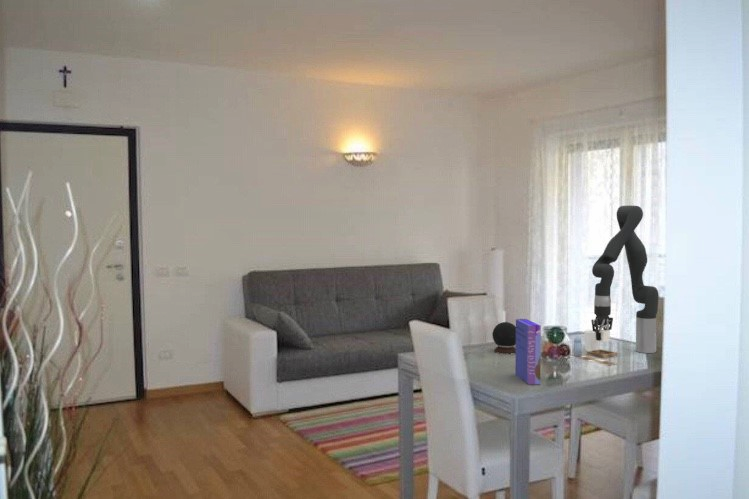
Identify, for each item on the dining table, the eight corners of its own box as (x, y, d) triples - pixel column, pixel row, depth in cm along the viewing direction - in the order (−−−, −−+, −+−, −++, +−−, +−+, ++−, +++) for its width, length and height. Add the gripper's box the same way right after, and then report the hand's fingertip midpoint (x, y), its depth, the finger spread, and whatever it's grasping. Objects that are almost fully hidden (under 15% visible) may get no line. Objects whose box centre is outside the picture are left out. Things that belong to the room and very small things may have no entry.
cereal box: (540, 384, 251) (540, 325, 250) (528, 385, 250) (529, 325, 249) (526, 374, 268) (526, 318, 267) (515, 374, 268) (515, 318, 267)
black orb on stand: (524, 352, 314) (524, 322, 313) (506, 355, 306) (506, 325, 306) (505, 348, 325) (505, 319, 324) (486, 351, 317) (487, 321, 317)
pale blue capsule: (576, 355, 303) (577, 336, 303) (583, 356, 300) (583, 337, 300) (572, 356, 301) (572, 336, 301) (578, 357, 298) (578, 338, 298)
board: (577, 355, 305) (577, 354, 305) (617, 364, 287) (617, 362, 287) (568, 357, 301) (568, 356, 301) (607, 366, 283) (607, 364, 283)
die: (600, 339, 306) (601, 329, 306) (609, 340, 302) (610, 330, 302) (594, 340, 303) (594, 330, 303) (603, 342, 299) (603, 331, 299)
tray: (599, 353, 310) (599, 349, 310) (617, 357, 302) (617, 352, 302) (586, 356, 304) (586, 351, 304) (604, 359, 296) (604, 355, 296)
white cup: (583, 352, 314) (583, 332, 314) (584, 349, 322) (584, 329, 321) (600, 353, 311) (600, 333, 311) (600, 350, 319) (601, 330, 318)
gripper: (604, 302, 309) (604, 337, 310) (586, 305, 301) (586, 340, 302) (618, 304, 303) (617, 339, 304) (599, 306, 295) (599, 342, 296)
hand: (602, 339), depth 303 cm, fingers closed on die, 5 cm apart
